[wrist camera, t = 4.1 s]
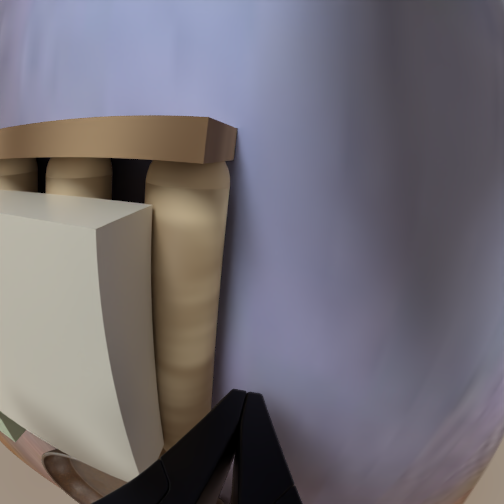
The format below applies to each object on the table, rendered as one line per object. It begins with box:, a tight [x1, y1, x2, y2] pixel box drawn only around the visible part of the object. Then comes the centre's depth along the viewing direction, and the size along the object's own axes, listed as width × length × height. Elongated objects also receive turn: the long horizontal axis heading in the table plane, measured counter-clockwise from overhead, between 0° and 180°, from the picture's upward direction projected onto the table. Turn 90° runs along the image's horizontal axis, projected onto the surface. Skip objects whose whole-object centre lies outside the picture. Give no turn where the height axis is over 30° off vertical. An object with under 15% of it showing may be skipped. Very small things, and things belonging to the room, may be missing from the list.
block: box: [0, 411, 26, 442], centre depth 14 cm, size 4×4×4 cm
